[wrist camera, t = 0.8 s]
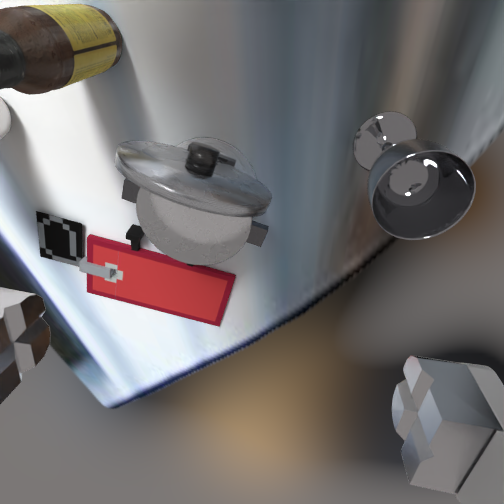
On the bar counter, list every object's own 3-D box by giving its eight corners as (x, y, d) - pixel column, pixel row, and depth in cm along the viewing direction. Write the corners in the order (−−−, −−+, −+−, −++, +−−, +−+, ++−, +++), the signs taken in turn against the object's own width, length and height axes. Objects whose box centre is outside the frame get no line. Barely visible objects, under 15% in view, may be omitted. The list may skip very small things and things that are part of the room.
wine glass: (389, 186, 44) (426, 254, 32) (336, 156, 43) (352, 214, 31) (436, 129, 40) (499, 181, 28) (378, 93, 39) (417, 131, 26)
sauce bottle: (63, 0, 37) (-125, -10, 20) (122, 8, 37) (-19, 4, 20) (73, 69, 40) (-79, 108, 24) (127, 77, 40) (11, 120, 24)
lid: (145, 143, 35) (152, 113, 34) (267, 188, 37) (278, 160, 35) (83, 170, 23) (90, 125, 22) (267, 235, 25) (283, 196, 24)
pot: (157, 106, 42) (129, 125, 35) (290, 156, 44) (289, 184, 36) (139, 207, 50) (113, 239, 43) (252, 246, 51) (245, 283, 44)
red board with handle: (38, 196, 50) (45, 274, 59) (26, 205, 48) (35, 285, 57) (242, 253, 53) (220, 320, 62) (240, 264, 51) (217, 332, 59)
